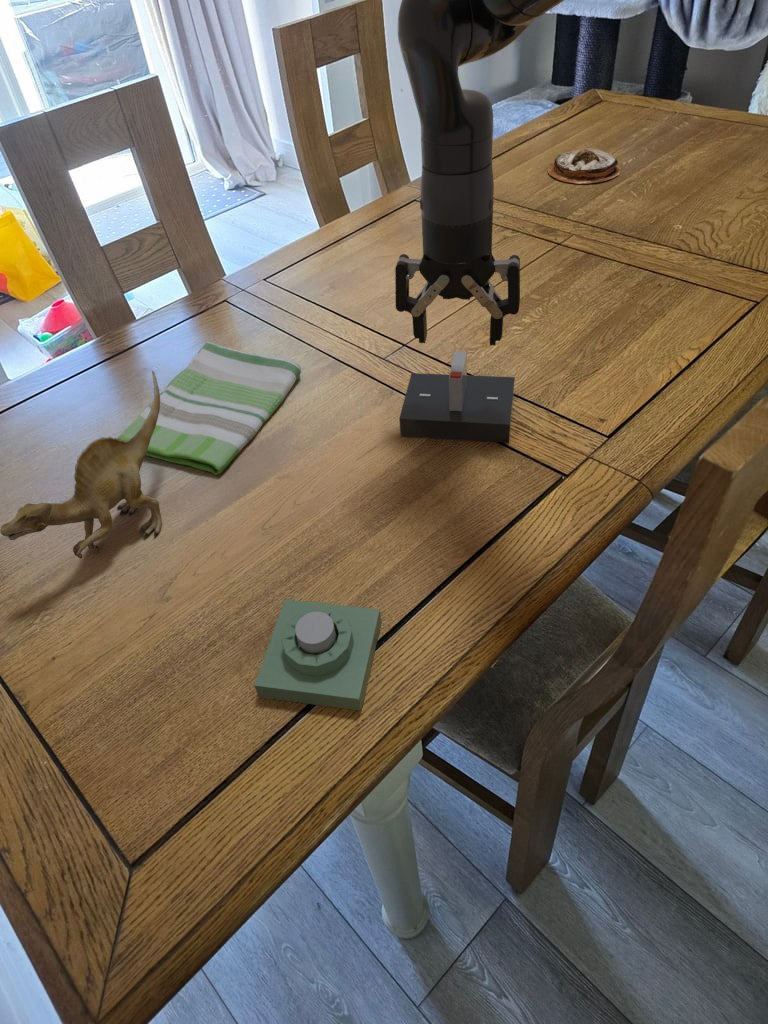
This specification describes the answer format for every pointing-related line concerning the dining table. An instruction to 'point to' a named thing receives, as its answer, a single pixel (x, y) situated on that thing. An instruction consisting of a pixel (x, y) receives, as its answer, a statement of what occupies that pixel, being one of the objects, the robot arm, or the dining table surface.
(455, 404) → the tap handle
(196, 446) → the dish towel
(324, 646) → the button
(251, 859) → the dining table surface
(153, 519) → the dinosaur figurine
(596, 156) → the powdered cake
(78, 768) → the dining table surface
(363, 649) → the button block
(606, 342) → the dining table surface
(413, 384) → the lever base
